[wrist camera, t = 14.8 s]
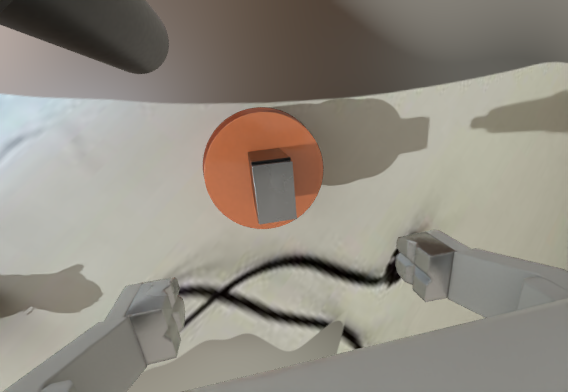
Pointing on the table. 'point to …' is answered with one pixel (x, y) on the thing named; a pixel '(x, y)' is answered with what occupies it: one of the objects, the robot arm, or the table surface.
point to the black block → (272, 185)
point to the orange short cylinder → (235, 165)
